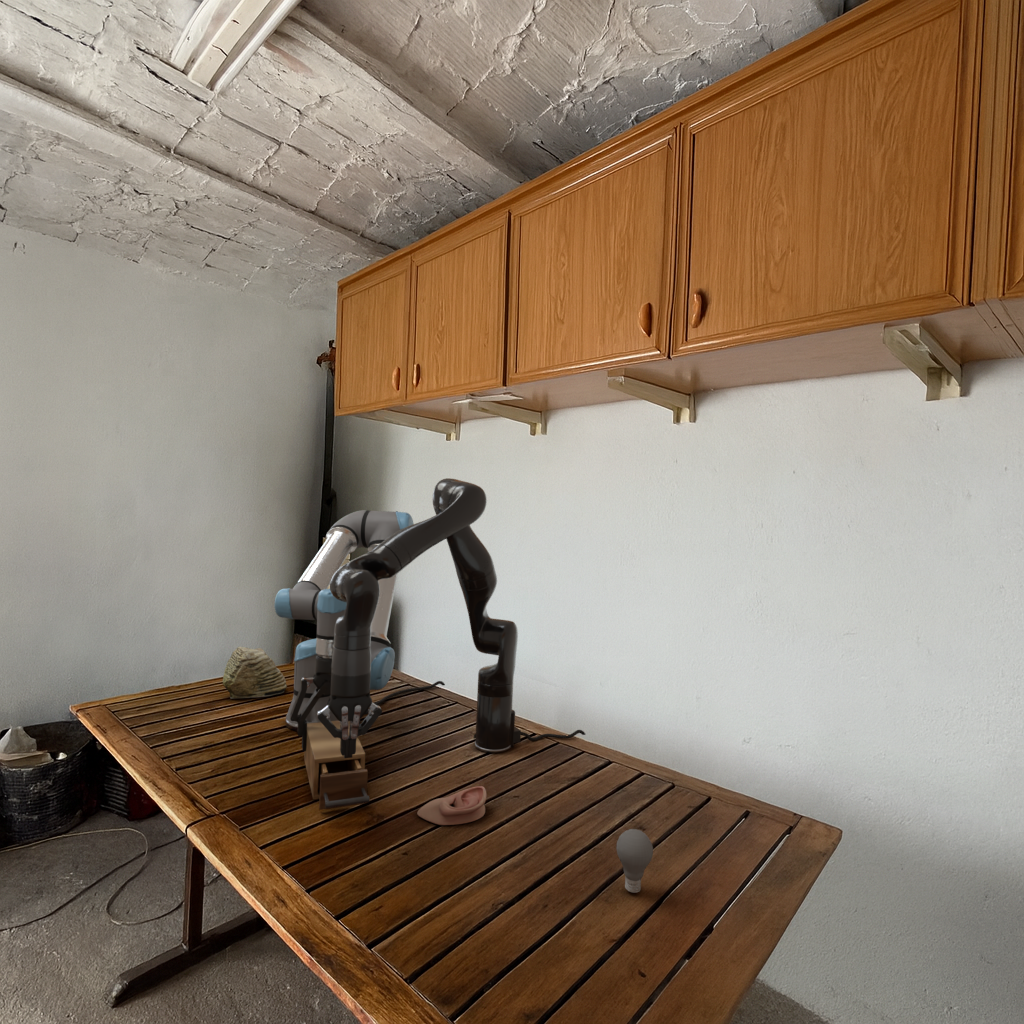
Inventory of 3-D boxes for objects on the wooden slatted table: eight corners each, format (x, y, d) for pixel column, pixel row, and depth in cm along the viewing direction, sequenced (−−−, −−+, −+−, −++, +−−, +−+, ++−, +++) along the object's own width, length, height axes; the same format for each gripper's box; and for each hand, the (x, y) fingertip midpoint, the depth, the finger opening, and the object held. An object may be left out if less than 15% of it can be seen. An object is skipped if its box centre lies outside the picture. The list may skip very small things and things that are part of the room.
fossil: (218, 695, 195) (220, 647, 195) (278, 685, 208) (279, 640, 207) (228, 703, 189) (230, 653, 188) (289, 692, 201) (290, 645, 201)
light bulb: (610, 879, 108) (613, 822, 108) (644, 879, 109) (647, 822, 109) (619, 902, 102) (622, 840, 102) (655, 901, 103) (658, 840, 103)
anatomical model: (412, 801, 125) (431, 776, 136) (411, 820, 125) (430, 795, 136) (477, 810, 122) (491, 784, 134) (476, 830, 122) (490, 803, 134)
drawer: (371, 815, 125) (372, 782, 125) (322, 822, 122) (324, 788, 121) (351, 763, 149) (352, 735, 149) (309, 768, 145) (311, 739, 145)
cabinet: (363, 793, 136) (365, 753, 136) (313, 799, 132) (314, 759, 132) (348, 753, 156) (349, 719, 156) (304, 758, 152) (305, 723, 152)
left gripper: (281, 661, 143) (278, 758, 143) (383, 655, 152) (380, 746, 152) (279, 653, 150) (276, 745, 150) (377, 648, 159) (374, 735, 159)
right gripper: (318, 676, 118) (314, 768, 119) (388, 672, 124) (385, 760, 124) (314, 666, 125) (311, 753, 126) (381, 662, 131) (377, 745, 131)
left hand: (328, 746), depth 151 cm, fingers open, 11 cm apart
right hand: (347, 756), depth 125 cm, fingers closed
